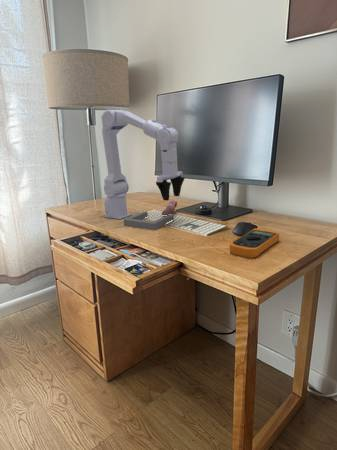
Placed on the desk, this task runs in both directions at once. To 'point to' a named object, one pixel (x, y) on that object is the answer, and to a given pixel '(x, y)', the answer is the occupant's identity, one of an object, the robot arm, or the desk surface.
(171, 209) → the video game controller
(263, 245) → the multimeter
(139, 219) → the tray
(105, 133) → the robot arm
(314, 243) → the desk surface
